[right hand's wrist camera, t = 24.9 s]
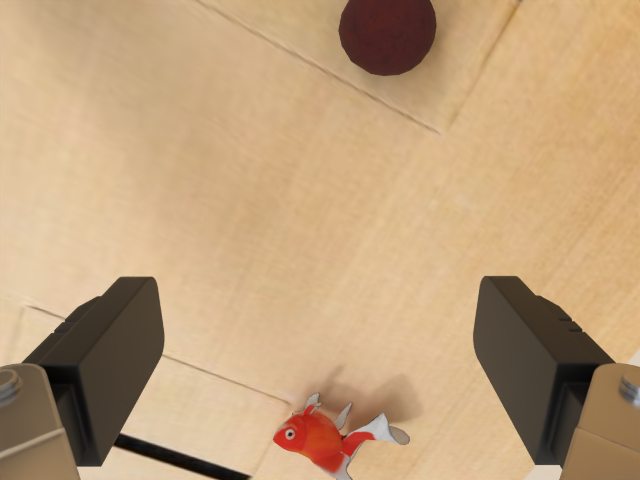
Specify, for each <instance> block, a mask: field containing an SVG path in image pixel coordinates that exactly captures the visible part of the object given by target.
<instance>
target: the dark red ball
mask: <svg viewBox="0 0 640 480" xmlns="http://www.w3.org/2000/svg"><path fill="white" fill-rule="evenodd" d="M338 31H339V35H340V40H341V44H342V47H343V48H344V50H345V51H346V53H347V55H348V56H349V58H350V60H351V61H352V62H353V63H355V64H356V65H358V66H359V67H361V68H363V69H364V70H366V71H367V72H369V73H370V74H375V75H381V76H389V75H400V74H402V73H405V72H407V71H410V70H411V69H413V68H414V67H415V66H417V65H418V64H419V63H420V62H421V61H422V60H423V58H424V57H425V56H426V54H427V53H428V52H429V50H430V48H431V45H432V43H433V41H434V37H435V31H436V17H435V11H434V9H433V6H432V4H431V2H430V0H349V1H348V3H347V5H346V7H345V9H344V10H343V12H342V15H341V20H340V25H339V30H338Z"/></svg>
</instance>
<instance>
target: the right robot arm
mask: <svg viewBox="0 0 640 480" xmlns="http://www.w3.org/2000/svg"><path fill="white" fill-rule="evenodd" d="M473 342H474V349H475V353H476V356H477V358H478V360H479V362H480V364H481V366H482V367H483V369H484V371H485V373H486V375H487V377H488V378H489V380H490V382H491V384H492V386H493V388H494V390H495V391H496V393H497V395H498V397H499V399H500V401H501V402H502V404H503V406H504V408H505V410H506V412H507V414H508V415H509V417H510V419H511V421H512V423H513V425H514V426H515V428H516V430H517V432H518V434H519V436H520V437H521V439H522V441H523V443H524V445H525V447H526V449H527V450H528V452H529V454H530V456H531V458H532V460H533V461H534V463H535V465H560V466H561V468H562V473H561V476H560V479H559V480H640V367H637V366H634V365H629V364H621V363H616V362H615V361H614V360H613V359H612V358H611V357H610V356H609V355H608V354H607V353H606V352H605V351H604V350H603V349H602V348H601V347H600V346H599V345H598V344H597V343H595V342H594V341H593V340H592V339H591V338H590V337H589V336H588V335H587V334H586V333H585V332H582V329H581V328H580V327H579V326H578V325H577V324H576V323H575V322H574V321H572V319H571V318H570V317H569V316H568V315H567V314H566V313H565V312H564V311H563V310H562V309H561V308H560V307H559V306H558V305H556V304H554V303H552V302H550V301H549V300H547V299H545V298H543V297H541V296H536V295H535V294H534V293H533V292H532V291H531V290H530V289H529V288H528V287H527V286H526V285H525V284H524V283H523V282H522V281H521V280H520V278H518V277H517V276H484V277H483V279H482V281H481V284H480V289H479V296H478V303H477V310H476V317H475V324H474V332H473ZM163 348H164V327H163V320H162V313H161V306H160V300H159V293H158V286H157V282H156V280H155V278H153V277H120V278H118V279H117V280H116V282H115V283H114V284H113V285H112V286H111V287H110V288H109V289H108V290H107V291H106V292H105V293H104V294H103V295H102V296H97V297H95V298H93V299H92V300H90V301H88V302H86V303H84V304H83V305H81V306H79V307H77V308H76V309H75V310H74V311H73V312H72V313H71V314H70V315H69V316H68V317H67V318H66V319H65V322H62V323H61V324H60V325H59V326H58V327H57V328H56V329H55V330H54V333H51V334H50V335H49V336H48V337H47V338H46V339H45V340H44V341H43V342H42V343H41V344H40V345H39V346H38V347H37V348H36V349H35V350H34V351H33V352H32V353H31V354H30V355H29V356H28V357H27V358H26V359H25V360H24V361H23V362H22V363H19V364H11V365H6V366H2V367H0V480H81V479H80V476H79V473H78V470H77V467H101V466H102V464H103V462H104V460H105V459H106V457H107V455H108V453H109V451H110V449H111V448H112V446H113V444H114V442H115V440H116V438H117V437H118V435H119V433H120V431H121V429H122V428H123V426H124V424H125V422H126V420H127V418H128V417H129V415H130V413H131V411H132V409H133V408H134V406H135V404H136V402H137V400H138V398H139V397H140V395H141V393H142V391H143V389H144V387H145V386H146V384H147V382H148V380H149V378H150V377H151V375H152V373H153V371H154V369H155V367H156V366H157V364H158V362H159V360H160V358H161V356H162V353H163Z"/></svg>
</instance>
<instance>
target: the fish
mask: <svg viewBox="0 0 640 480" xmlns="http://www.w3.org/2000/svg"><path fill="white" fill-rule="evenodd" d="M318 400H319V394H318V393H316V394H314V395H313V396H311V397H310V398H309V399H308V400H307V403H306V407H305V409H304V411H301V412H298V413H296V414H294V415H293V413H292V416H291V417H290V418H289V419H287V420H286V421H285V422H284V423H283V424H282V425H281V426H280V427H279V428H278V429H277V431H276V433H275V435H274V438H273V440H274V442H275V443H276V444H278V445H279V446H280V447H282V448H283V449H285V450H288V451H292V452H297V453H300V454H302V455H304V456H306V457H308V458H309V459H310V460H311V461H312V462H313V463H314V464H315V465H316V466H318V467H319V468H320V469H321V470H323V471H324V472H325V473H327V474H328V475H330V476H331V477H333V478H336V479H337V480H352V478H351V477H350V476H349V475H348V473H347V467H348V466H349V464H350V462H351V460H352V459H353V457H354V455H355V454H356V452H357V450H358V448H359V447H360V446H361V444H362V443H363V442H364V441H365V440H384V441H390V442H395V443H397V444H400V445H406V444H409V441H410V437H409V436H408V435H407V434H406V433H405V432H404V431H403V430H401V429H398V428H396V427H393V426H389V424H388V421H387V419H386V417H385V415H384V413H382V414H381V415H379V416H377V417H376V418H374V419H373V420H372V421H371V422H369V423H368V424H367V425H365V426H363V427H361V428H360V429H357V430H355V431H353V432H351V433H349V434H347V435H345V436H343V435H340V433H339V430H340V429H342V427H343V426H344V424H345V421H346V418H347V415H348V412H349V410H350V407H351V405H352V403H350V404H349V405H348V406H347V407H346V408H345V409H344V410H343V411H342V412H341V413H340V415H339V416H338V417H337V419H336V420H335V421H334V422H332V421H331V420H330V419H329V418H328V417H327V416H325V415H324V414H322V413H321V412H319V411H316V410H317V409H318V406H320V405H321V403H318Z"/></svg>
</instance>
